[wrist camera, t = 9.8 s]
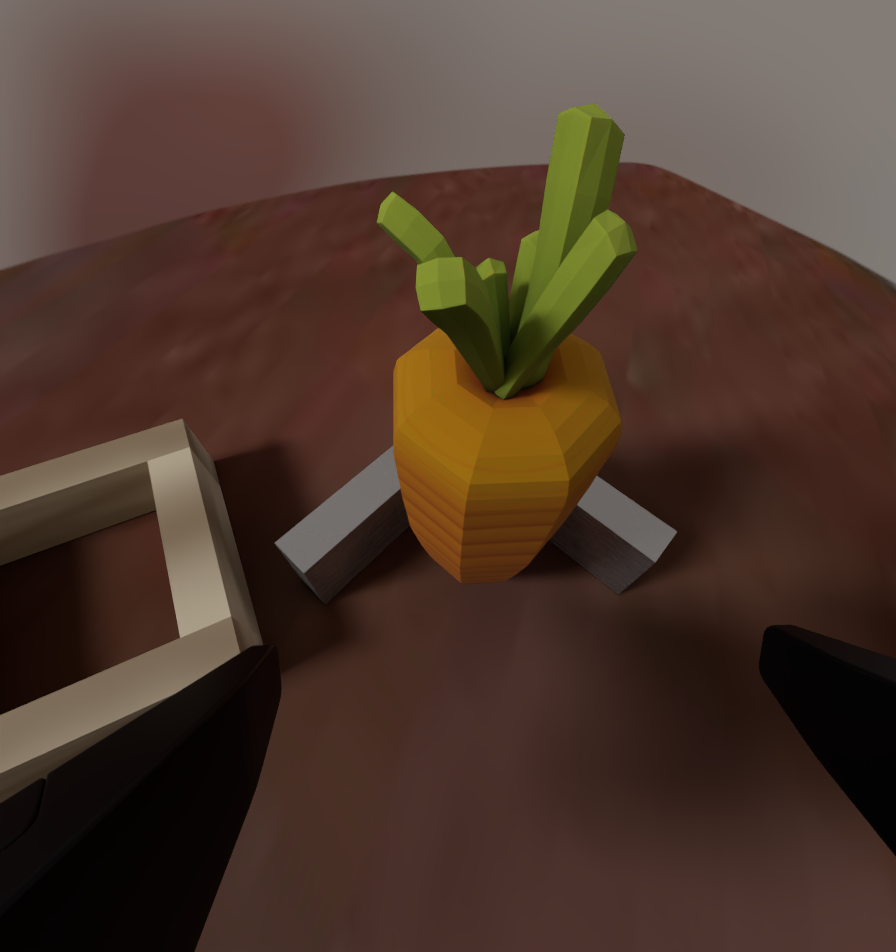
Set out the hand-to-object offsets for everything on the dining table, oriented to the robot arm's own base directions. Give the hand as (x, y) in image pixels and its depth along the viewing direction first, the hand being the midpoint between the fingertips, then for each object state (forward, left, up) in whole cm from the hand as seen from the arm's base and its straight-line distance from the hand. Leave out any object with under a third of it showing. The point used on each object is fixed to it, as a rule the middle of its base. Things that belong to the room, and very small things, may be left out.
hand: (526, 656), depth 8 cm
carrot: (+5, +2, -9) cm, 10 cm away
